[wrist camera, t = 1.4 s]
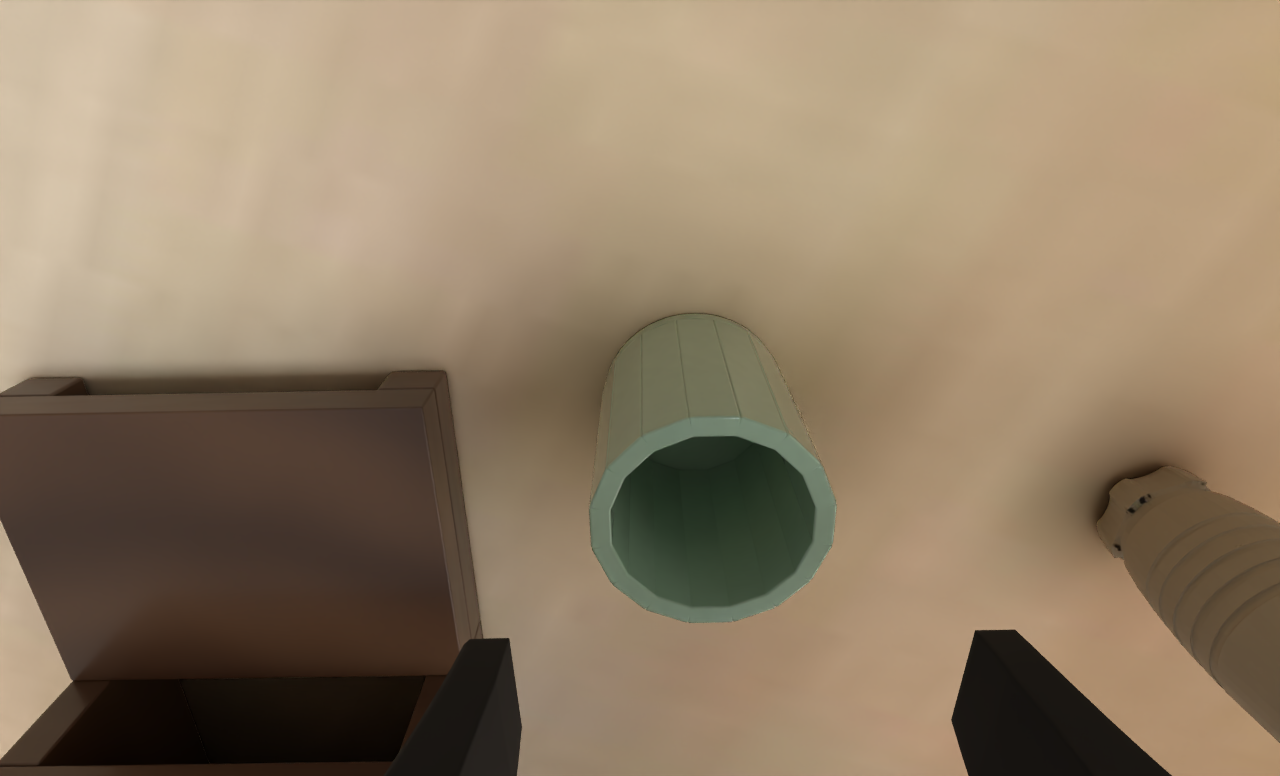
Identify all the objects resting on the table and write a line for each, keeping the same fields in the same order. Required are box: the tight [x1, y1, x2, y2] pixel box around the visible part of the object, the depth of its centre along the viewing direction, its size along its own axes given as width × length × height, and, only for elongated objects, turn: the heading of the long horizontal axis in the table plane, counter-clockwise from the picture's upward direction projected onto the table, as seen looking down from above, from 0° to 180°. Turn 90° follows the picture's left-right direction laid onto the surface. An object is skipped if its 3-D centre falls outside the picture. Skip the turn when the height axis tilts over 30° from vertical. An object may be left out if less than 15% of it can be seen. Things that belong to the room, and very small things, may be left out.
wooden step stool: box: [0, 371, 483, 776], centre depth 21 cm, size 18×12×7 cm, turn 1°
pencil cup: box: [589, 313, 837, 623], centre depth 18 cm, size 5×5×6 cm
